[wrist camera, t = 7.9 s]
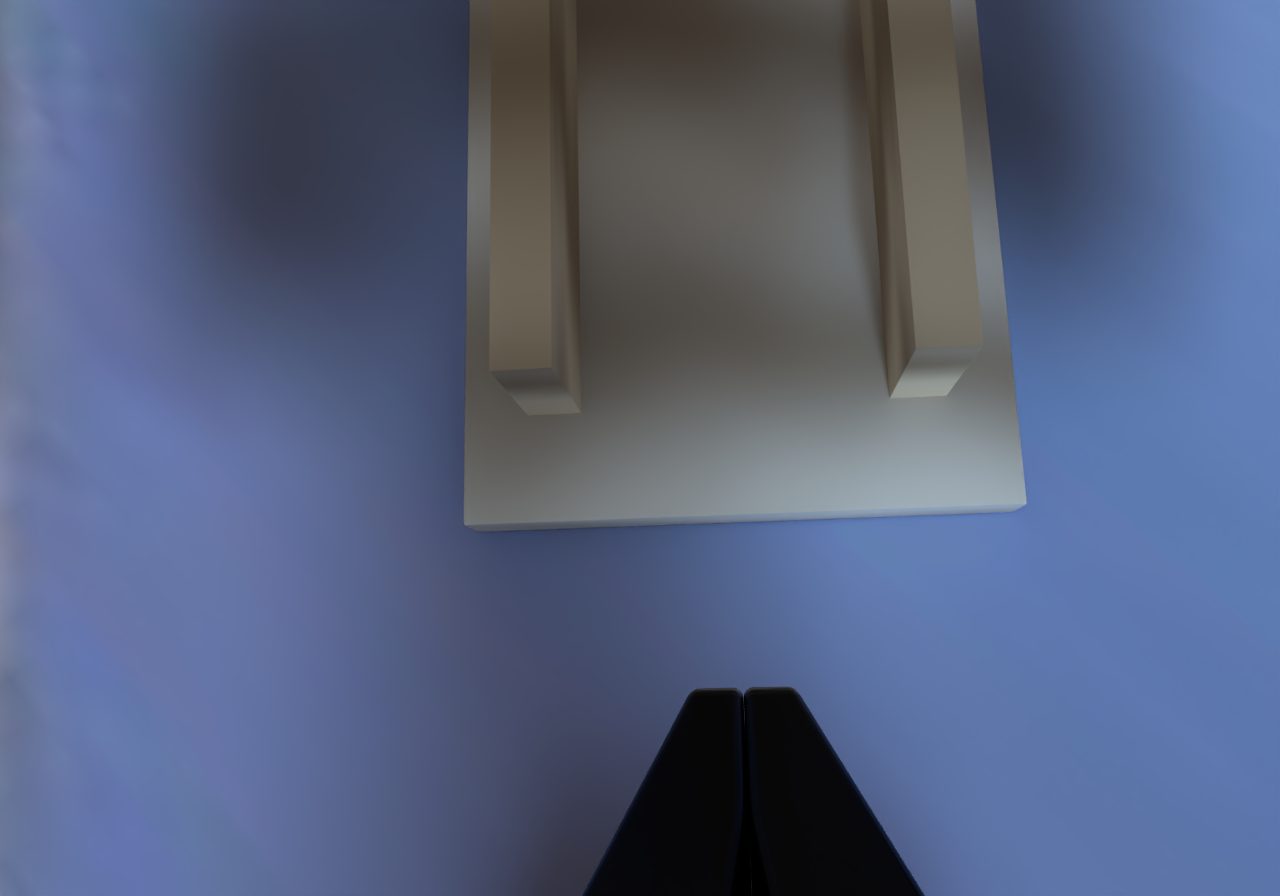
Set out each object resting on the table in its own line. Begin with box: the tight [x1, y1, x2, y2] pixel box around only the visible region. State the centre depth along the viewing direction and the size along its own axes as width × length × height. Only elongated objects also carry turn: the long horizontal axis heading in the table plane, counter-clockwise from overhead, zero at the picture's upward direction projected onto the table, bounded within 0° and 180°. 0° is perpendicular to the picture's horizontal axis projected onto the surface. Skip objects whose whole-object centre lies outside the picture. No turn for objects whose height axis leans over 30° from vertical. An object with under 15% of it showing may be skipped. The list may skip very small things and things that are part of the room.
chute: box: [464, 0, 1027, 532], centre depth 19 cm, size 18×10×4 cm, turn 2°
